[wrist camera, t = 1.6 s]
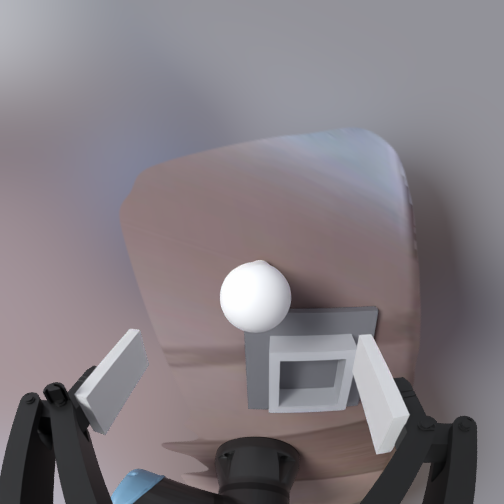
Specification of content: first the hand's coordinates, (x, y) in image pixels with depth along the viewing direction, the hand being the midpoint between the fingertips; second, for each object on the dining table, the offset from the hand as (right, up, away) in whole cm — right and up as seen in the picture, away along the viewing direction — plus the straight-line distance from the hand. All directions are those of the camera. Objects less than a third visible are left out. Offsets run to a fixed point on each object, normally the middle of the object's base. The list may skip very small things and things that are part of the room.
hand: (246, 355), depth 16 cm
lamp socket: (+8, -8, +19) cm, 22 cm away
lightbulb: (+1, +4, +17) cm, 17 cm away
